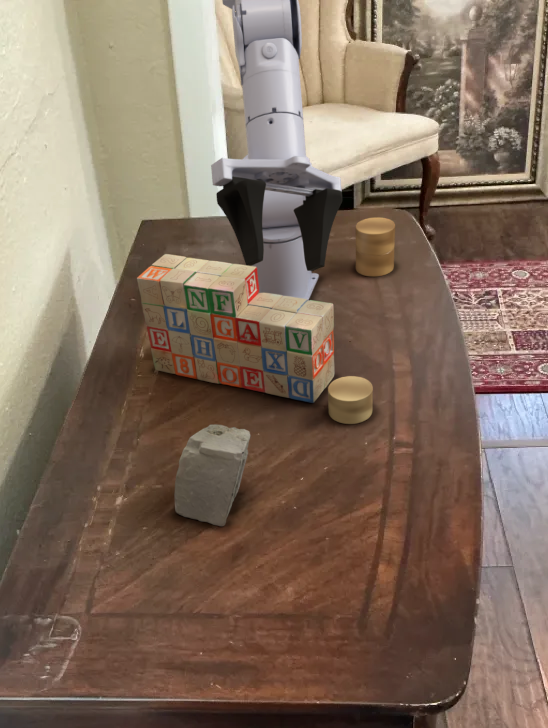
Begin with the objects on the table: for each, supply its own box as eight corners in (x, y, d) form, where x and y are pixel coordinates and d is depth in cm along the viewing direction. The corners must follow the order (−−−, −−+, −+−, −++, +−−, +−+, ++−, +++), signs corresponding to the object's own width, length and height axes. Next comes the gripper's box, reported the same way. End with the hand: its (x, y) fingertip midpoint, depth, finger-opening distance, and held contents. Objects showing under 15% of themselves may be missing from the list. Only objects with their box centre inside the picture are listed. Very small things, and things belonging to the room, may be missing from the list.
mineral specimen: (257, 527, 81) (231, 461, 76) (177, 528, 85) (147, 465, 80) (278, 476, 86) (255, 411, 81) (201, 479, 90) (174, 417, 85)
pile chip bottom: (359, 258, 121) (359, 237, 119) (396, 260, 120) (397, 239, 118) (352, 275, 118) (352, 254, 116) (390, 277, 116) (391, 256, 114)
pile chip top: (359, 237, 119) (359, 216, 117) (397, 239, 118) (397, 217, 116) (352, 254, 116) (352, 233, 114) (391, 256, 114) (391, 234, 112)
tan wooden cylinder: (333, 397, 97) (332, 374, 95) (375, 400, 96) (376, 377, 94) (324, 422, 94) (323, 399, 92) (368, 425, 93) (368, 402, 91)
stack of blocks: (336, 376, 100) (334, 277, 92) (314, 405, 96) (309, 304, 88) (179, 344, 109) (164, 251, 100) (153, 370, 105) (135, 275, 96)
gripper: (235, 95, 78) (248, 248, 78) (357, 121, 86) (367, 260, 86) (195, 125, 83) (207, 268, 84) (312, 147, 91) (323, 277, 92)
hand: (285, 266), depth 86 cm, fingers open, 7 cm apart
